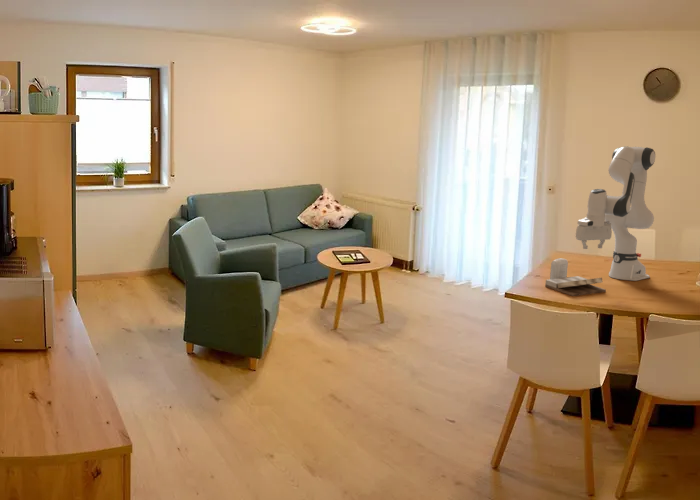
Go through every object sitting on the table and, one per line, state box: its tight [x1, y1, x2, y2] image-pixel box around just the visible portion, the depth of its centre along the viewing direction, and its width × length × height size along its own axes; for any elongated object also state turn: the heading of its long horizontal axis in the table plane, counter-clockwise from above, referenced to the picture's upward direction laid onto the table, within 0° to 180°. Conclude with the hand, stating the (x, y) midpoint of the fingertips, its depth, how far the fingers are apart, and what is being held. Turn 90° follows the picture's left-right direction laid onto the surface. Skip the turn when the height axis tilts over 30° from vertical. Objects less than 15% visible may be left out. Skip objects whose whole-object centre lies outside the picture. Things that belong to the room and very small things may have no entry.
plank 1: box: [557, 280, 586, 288], centre depth 351 cm, size 11×9×2 cm
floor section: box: [544, 275, 607, 297], centre depth 357 cm, size 22×20×4 cm
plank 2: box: [579, 277, 603, 286], centre depth 356 cm, size 11×9×2 cm
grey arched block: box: [549, 257, 569, 279], centre depth 372 cm, size 10×4×12 cm, turn 123°
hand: (592, 248), depth 351 cm, fingers open, 8 cm apart
